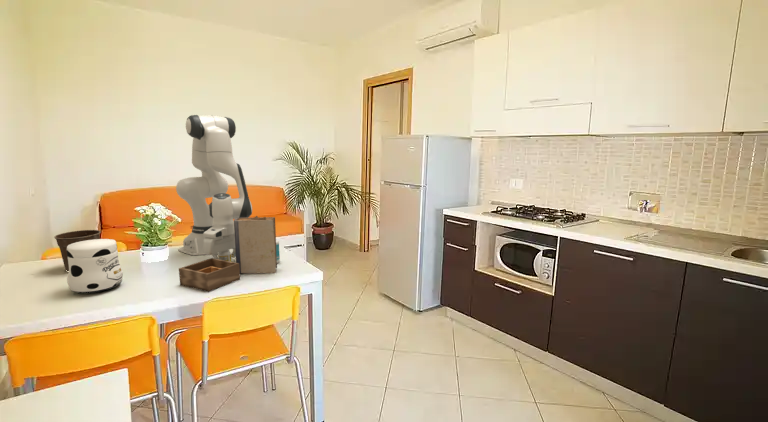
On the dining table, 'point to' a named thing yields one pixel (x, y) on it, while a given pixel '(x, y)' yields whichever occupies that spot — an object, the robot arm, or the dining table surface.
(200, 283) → the walled box
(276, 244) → the pill bottle
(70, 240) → the plant pot
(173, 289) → the dining table surface
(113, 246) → the milk container
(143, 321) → the dining table surface
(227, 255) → the supplement bottle
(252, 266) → the book
